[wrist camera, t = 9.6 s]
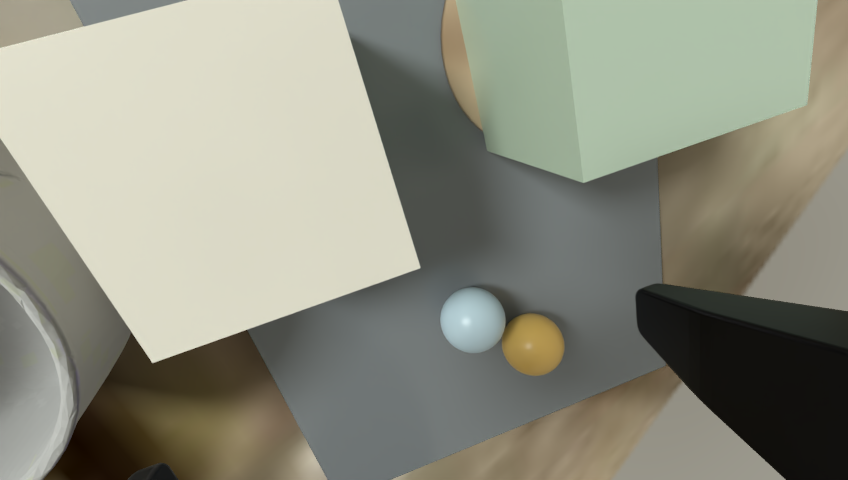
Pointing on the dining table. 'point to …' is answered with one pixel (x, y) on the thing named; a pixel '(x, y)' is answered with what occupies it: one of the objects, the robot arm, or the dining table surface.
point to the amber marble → (533, 344)
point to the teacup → (46, 331)
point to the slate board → (457, 273)
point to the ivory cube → (208, 163)
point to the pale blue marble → (472, 320)
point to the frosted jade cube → (630, 75)
